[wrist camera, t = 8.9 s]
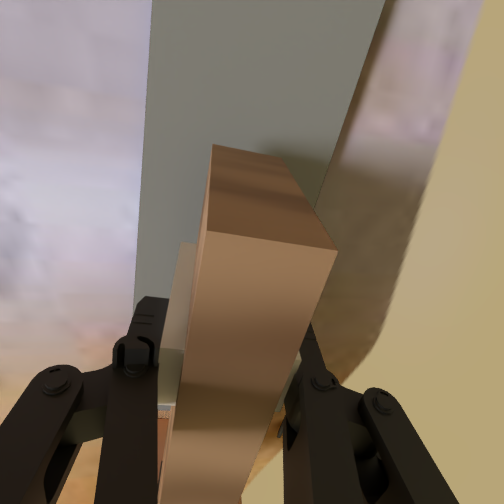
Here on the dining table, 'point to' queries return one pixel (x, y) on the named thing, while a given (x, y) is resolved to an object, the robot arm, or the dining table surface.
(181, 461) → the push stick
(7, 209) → the dining table surface
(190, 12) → the mat
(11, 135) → the dining table surface
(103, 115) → the dining table surface
